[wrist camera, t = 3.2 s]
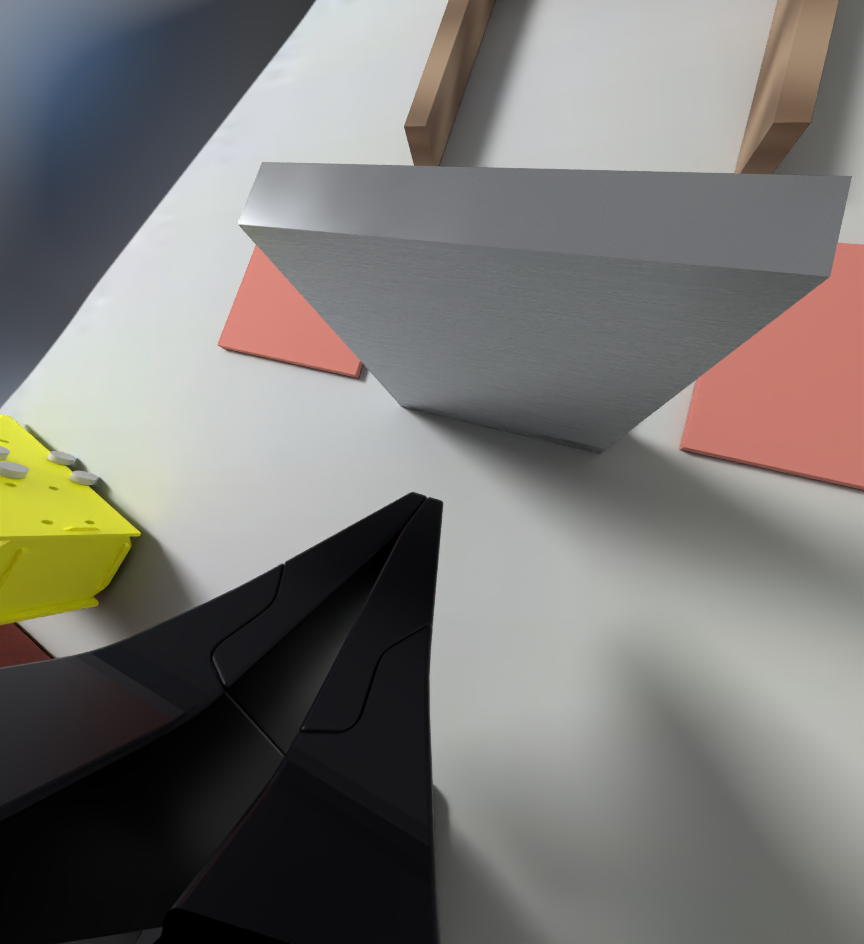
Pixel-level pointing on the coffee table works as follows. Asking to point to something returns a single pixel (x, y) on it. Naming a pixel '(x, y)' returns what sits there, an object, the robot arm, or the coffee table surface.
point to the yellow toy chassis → (52, 531)
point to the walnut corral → (772, 112)
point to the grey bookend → (544, 280)
